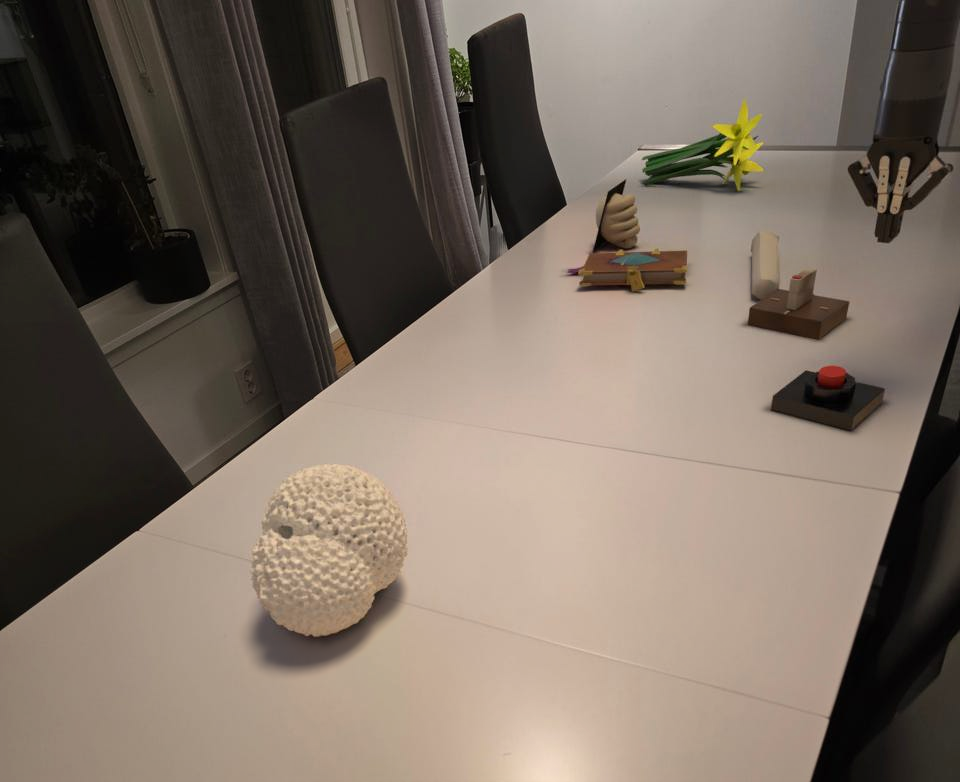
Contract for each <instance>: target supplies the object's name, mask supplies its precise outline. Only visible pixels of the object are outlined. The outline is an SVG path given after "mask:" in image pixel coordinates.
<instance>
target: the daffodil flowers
mask: <svg viewBox="0 0 960 782" xmlns="http://www.w3.org/2000/svg"><path fill="white" fill-rule="evenodd" d="M748 108H749V107H748V103H747V99H746V98H744V99H743V101H742V104H741V107H740V110H739V113H738V117H737V120H736V123H734V124H726V123H725V124H724V123H721V124H720V123H715V124H712V125H711V127H712V128H714V129H715V130H716V131H717V132H719V133H718V134H716V135H714V136H711V137H708V138H705V139H703V140H700V141H697V142H694V143H692V144H688V145H685V146H683V147H679V148H675V149H670V150H665V151H661V152H657V153H653V154H649V155H645V156H643V157H642V158H641V161H645V166H644V167H643V168H642V169H641V171H642V173H643V174H645V176H647V177H648V178H647V179H644V181H643V185H644V186H645V187H647V186H649V185H653V184H657V183H660V182H664V181H666V180H669V179H674V178H675V179H676V178H680V177H691V176H692V177H693V176H710V175H712V176H717V177H719V178H722V179H723V182H722V185H724V184H725V182H727V181H728V180H729V179H730V178H731V177H732V176H733V178H734V183H735V186H736V189H737V191H738V192H740V190H741V181H742V175H743V176H747V175H749V174H750V172H763V171H764V169H763V168H762V167H761V166H760V164H758V163H756V162H755V161H752V160H749V159H750V158H751V157H752V156H753V155H754V154H755V153H756V152H757V151H758V150H759V149H760V148H761V146H762V145H763V144H764V141H762V142H757V143H756V142H755V140H756V139H757V138H758V137H759V135H756V136H754V137H753V136H752V135H751V134H750V133H751V132H752V130H754V129H755V128H756V127H757V126H758V124H759V123H760V121H761V119H762V117H763V112H762V113H759V114H757V115H755V116H753V117H752V118H750V119H749V109H748ZM748 119H749V120H748ZM703 155H704V156H703ZM699 156H702V157H699ZM695 157H696V158H695ZM686 159H687V160H686ZM646 160H647V161H646ZM725 164H728V165H730V167H731V168H730V169H729V170H728V172H727V174H726V175H725V174H723V173H722V172H720V171H717V170H714V169H709V168H711V167H718V168H728V166H727V165H725ZM707 168H708V169H707Z"/></svg>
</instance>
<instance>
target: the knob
mask: <svg viewBox="0 0 960 782" xmlns="http://www.w3.org/2000/svg"><path fill="white" fill-rule="evenodd" d="M817 271H818V269H817V268H813V267H807V268H805V269H803V270H802V271H800V272H799V273H797V274H794V275H792V277H791V278H790V282H789V289H788V291H789V294H788V301H787V308H786V309H790V310H796V309H798V308H799V307H801V306H802V305H804V304H805V303H807V302H808V301H810V300H811V299H812V296H813V294H814V290H815V283H816V278H817Z"/></svg>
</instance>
